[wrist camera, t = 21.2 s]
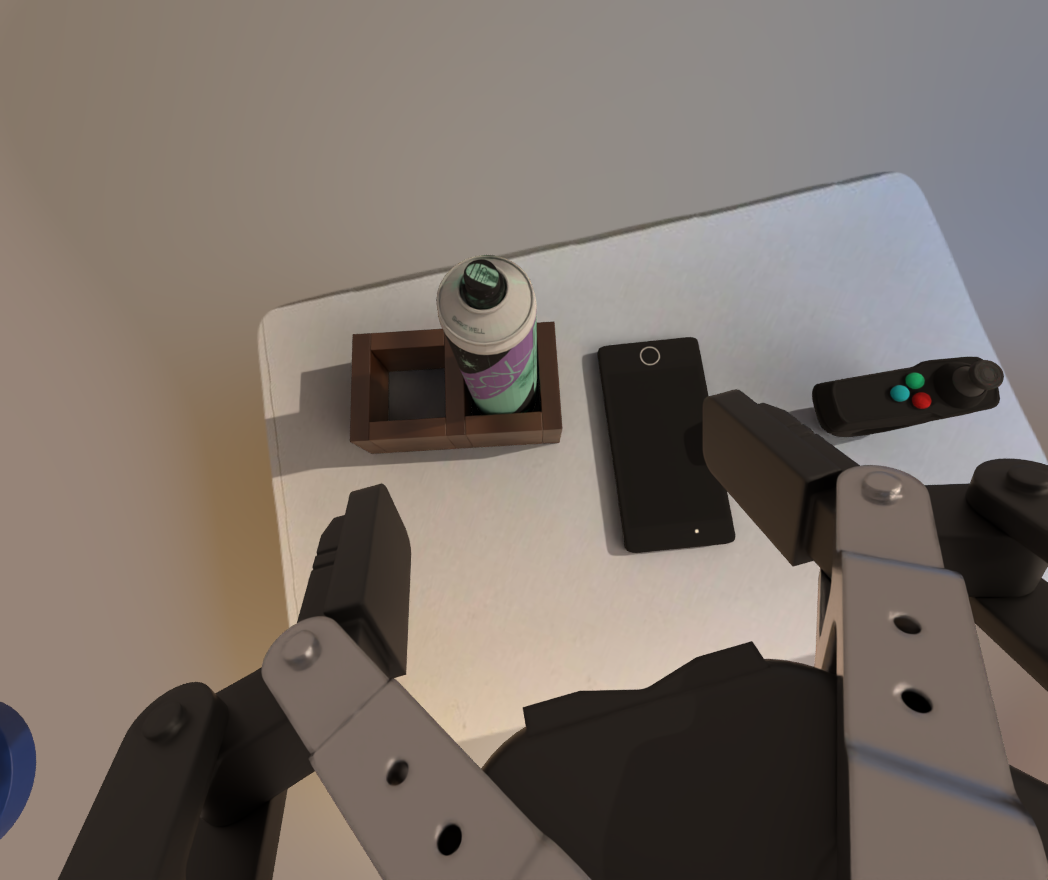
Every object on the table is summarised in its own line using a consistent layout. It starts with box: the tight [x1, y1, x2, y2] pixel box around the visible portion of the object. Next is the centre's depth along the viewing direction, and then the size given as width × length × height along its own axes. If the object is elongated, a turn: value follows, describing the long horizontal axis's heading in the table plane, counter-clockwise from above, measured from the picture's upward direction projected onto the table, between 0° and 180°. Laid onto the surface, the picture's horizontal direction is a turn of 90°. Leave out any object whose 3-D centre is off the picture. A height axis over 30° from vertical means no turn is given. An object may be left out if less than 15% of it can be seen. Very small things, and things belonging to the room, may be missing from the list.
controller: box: [812, 357, 1004, 437], centre depth 37 cm, size 4×12×10 cm, turn 98°
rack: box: [350, 322, 562, 454], centre depth 41 cm, size 16×9×5 cm, turn 93°
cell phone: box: [598, 337, 735, 553], centre depth 41 cm, size 9×18×1 cm, turn 6°
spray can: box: [436, 255, 537, 415], centre depth 33 cm, size 6×6×20 cm
